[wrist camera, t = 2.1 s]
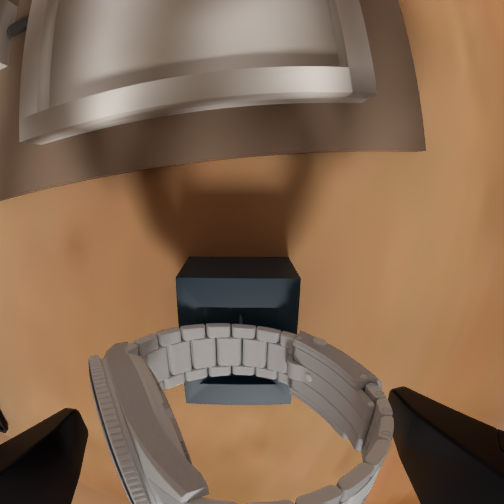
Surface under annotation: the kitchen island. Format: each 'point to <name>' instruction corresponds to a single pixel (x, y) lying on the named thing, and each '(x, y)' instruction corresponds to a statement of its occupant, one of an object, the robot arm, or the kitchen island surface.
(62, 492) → the robot arm
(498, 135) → the kitchen island surface
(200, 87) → the charging board
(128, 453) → the watch
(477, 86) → the kitchen island surface
